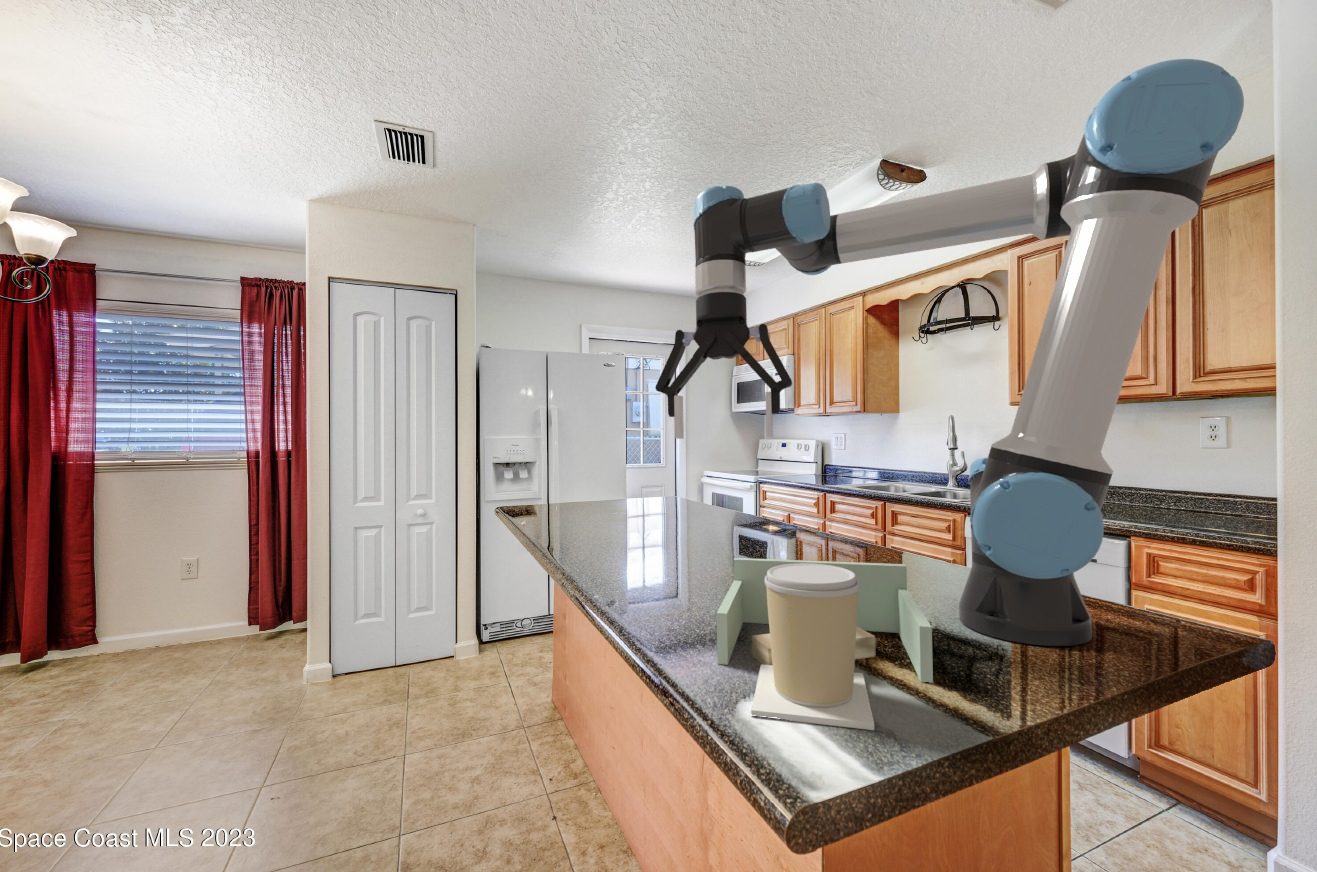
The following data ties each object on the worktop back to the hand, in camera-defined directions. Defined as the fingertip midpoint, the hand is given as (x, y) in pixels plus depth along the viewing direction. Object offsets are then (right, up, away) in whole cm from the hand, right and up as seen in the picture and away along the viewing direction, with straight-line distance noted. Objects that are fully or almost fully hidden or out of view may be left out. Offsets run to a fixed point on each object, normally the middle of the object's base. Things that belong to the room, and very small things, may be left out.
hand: (723, 438), depth 82 cm
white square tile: (+6, -26, -26) cm, 38 cm away
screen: (+11, -26, -12) cm, 31 cm away
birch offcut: (+9, -27, -16) cm, 32 cm away
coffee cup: (+6, -26, -26) cm, 37 cm away
